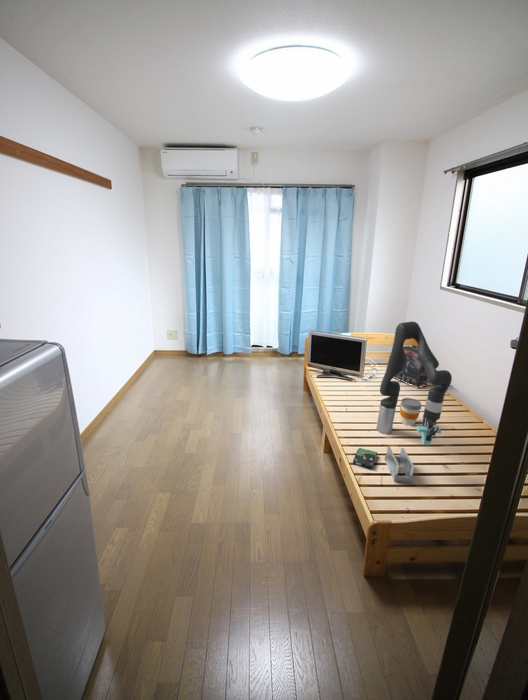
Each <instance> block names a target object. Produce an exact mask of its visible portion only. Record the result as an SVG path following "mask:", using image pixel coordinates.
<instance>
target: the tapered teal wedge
mask: <svg viewBox="0 0 528 700" xmlns="http://www.w3.org/2000/svg"><path fill="white" fill-rule="evenodd" d="M437 427H438V426H437ZM416 431H418V433H422V435H421V440H420V441H421V443H422V445H423V446H431V445H432V441H433V437H432V438H431V441H427V440H426V437H427V432H428V430H427V427H425V426H423V425H416ZM430 431H431V430H430ZM436 434H438V435H439V434H442V430H441V429H440V427H438V431H437V432H436Z"/></svg>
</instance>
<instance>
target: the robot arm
mask: <svg viewBox="0 0 528 700" xmlns="http://www.w3.org/2000/svg"><path fill="white" fill-rule="evenodd" d="M410 339H411V340H412V339H413V340H414V341H415V342H416V344H417V347H418V348H417V349H418V358H419V360H420V362H421V363H422V365H423V367H424V368H425V372H426V375H427V379H428V380H427V382H429V383H430V384H431V385H432V386H433V387H431V388H429V390H428V393H427V398H426V401H425V405H424V410H423V414H422V426H425V427H427V430H428V432H427V437H426V440H427V441H431V438H432V439H433V437H434V436H436V434H437V433H436V432H437V431H438V426H437V421H438V420H440V419H441V414H442V411H443V407H444V405H443V403H444V398H445V394H446V392H447V391H448V389H449V387H450V386H451V383H452V379H453V376H452V374H451V372H450V371H449V370H446V369H445V370H444V369H443V370H437V368H439V365H440V363H439V361H438V359H437V357H436V356H435V355H434V353H433V352H432V350H431V348H430V346H429V344H428V342H427V340H426V338H425V335H424V334H423V331H422V329H421V326H420V325H419V324H418V322H416V321H406V322H399V323H398V324H397V326H396V327H395V332H394V337H393V343H392V347H391V348H392V349H391V351H390V355H389V359H388V361H387V365H386V369H385V372H384V375H383V377H382V381H381V383H380V387H379V393H380V395H382V396H384V397H385V396H387V397H385V398H382V399H381V400H380V404H379V411H378V417H377V423H376V431H377V432H379V433H381V434H387V435H389V434H391V433H392V431H393V427H394V420H395V414H396V407H397V406H398V405H397V404H398V399H399V395H400V392H401V385H400V384H401V383H400V382H398V381H394V380H393V378H395V376H396V375H397V374H399V373H400V372H401V371H402V370H403V369H404V367H405V364H406V361H407V356H406V353H405V351H404V349H403V347H404V345H405V344H404V343H405V341H406V340H410ZM430 430H431V431H430ZM431 442H432V441H431Z"/></svg>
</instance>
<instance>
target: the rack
mask: <svg viewBox="0 0 528 700" xmlns="http://www.w3.org/2000/svg"><path fill="white" fill-rule="evenodd" d="M385 461H386V462H385ZM384 462H385V464H386V466H387V469H388V471H389V470H390V471H389V473H390V476H391V477H392V479H393V482H394V483H401V482H402V483H401V484H413V481H414V480H413V479H414V478H413V474H414V469H415V465H414V463H413V462H412V460H411V458H410V456H409V455H408V453H407V451H406V450H405V448H404V447H401V449H400V454H399V455H395V454H394V452H393V450H392V448H391V446H387V449H386V455H385V456H384ZM400 468H401V470H402V469H403V470H402V471H404V472H403V474H404V473H405V474H404V475H398V473H399V469H400Z"/></svg>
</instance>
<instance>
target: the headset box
mask: <svg viewBox="0 0 528 700" xmlns="http://www.w3.org/2000/svg"><path fill="white" fill-rule="evenodd" d="M403 349H404V351H405V353H406V356H407V361H406V364H405V367H404V369H403V370H402V371H401V372H400V373H399V374H397V375H396V376H395V377H396V378H398V379H400V380H403V381H405V382H407V383H409V384H412V385H414V386H417V387H419V386H423V385H426V386H427V383H428V379H427V375H426V372H425V368H424V367H423V365H422V363H421V362H420V360H419V358H418V345H412V346H410V345H407V346H406V345H405V346H404V345H403ZM395 377H394V378H395Z"/></svg>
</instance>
